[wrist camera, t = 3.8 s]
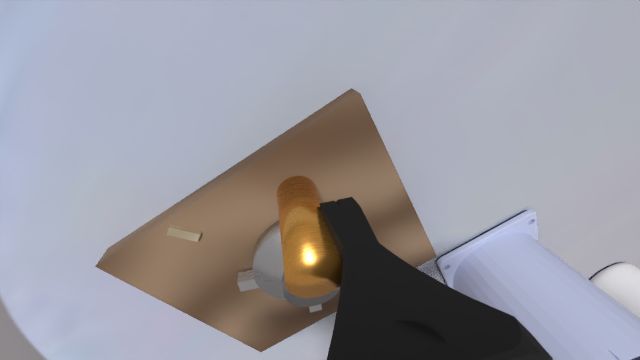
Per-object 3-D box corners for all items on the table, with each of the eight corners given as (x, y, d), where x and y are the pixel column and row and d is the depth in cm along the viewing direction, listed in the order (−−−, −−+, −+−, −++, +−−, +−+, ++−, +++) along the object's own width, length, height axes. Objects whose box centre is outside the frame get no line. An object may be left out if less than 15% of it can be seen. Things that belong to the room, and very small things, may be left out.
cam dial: (369, 287, 17) (404, 369, 13) (255, 315, 16) (252, 413, 12) (374, 162, 12) (435, 230, 8) (206, 191, 11) (173, 287, 7)
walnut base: (426, 243, 18) (438, 258, 17) (261, 335, 20) (260, 355, 19) (351, 88, 11) (361, 94, 10) (108, 248, 13) (93, 269, 12)
